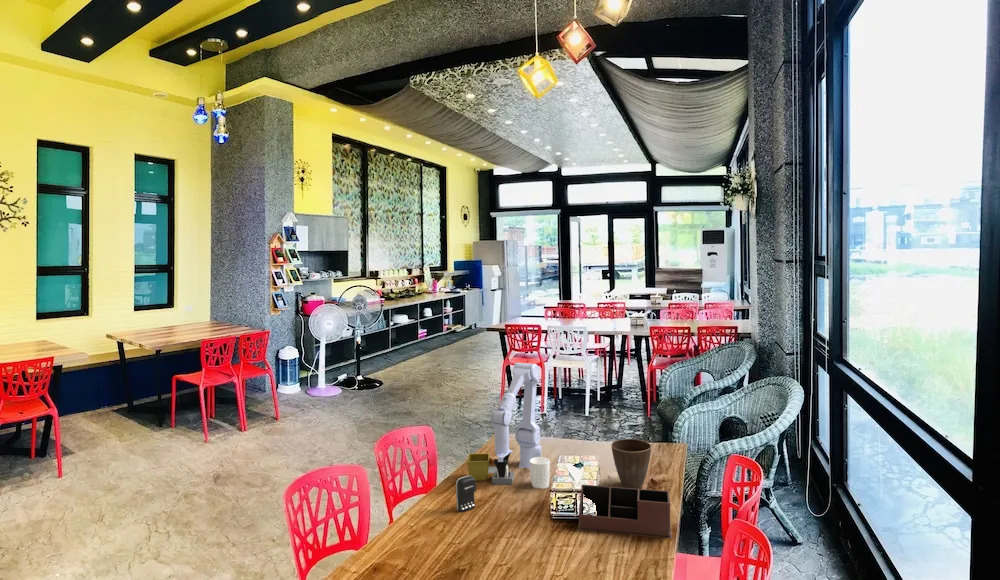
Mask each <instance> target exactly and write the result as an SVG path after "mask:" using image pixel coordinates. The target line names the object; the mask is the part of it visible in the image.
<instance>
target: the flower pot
mask: <svg viewBox="0 0 1000 580" xmlns="http://www.w3.org/2000/svg"><path fill="white" fill-rule="evenodd" d="M490 456H491V455H490V453H486V452H485V453H468V455H467V460H466V464H467V469H468V470H467V471H468V475H469V476H472V477H473V478H474V479H475V481H476V482H477V481H486V479H487V477H488V475H489V473H488V469H489V466H490V458H491V457H490Z"/></svg>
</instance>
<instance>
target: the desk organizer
mask: <svg viewBox="0 0 1000 580" xmlns="http://www.w3.org/2000/svg"><path fill="white" fill-rule="evenodd" d="M583 494H584V495H585V496H584V497H586V498H588V499H590V500H592V502H593V503H595V505H596V511H597V516H592V515H583ZM579 498H580V499H579V508H578V526H577V530H579V531H588V532H599V533H610V534H621V535H632V536H641V537H653V538H664V539H673V535H672V533H673V532H672V524H671V500H670V491H669V490H658V489H649V488H648V489H646V488H640V489H634V488H624V487H620V486H619V487H617V486H605V485H592V484H581V488H580V497H579Z"/></svg>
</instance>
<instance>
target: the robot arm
mask: <svg viewBox="0 0 1000 580" xmlns="http://www.w3.org/2000/svg"><path fill="white" fill-rule="evenodd" d="M512 376H513V377H512V380H511V382H510V385H509V388H508V391H507V393H505V394H503V396H502V398H501V399H500V403H499V404H498V406H497V408H496V409H495V410H493V411H492V412H491V416H490V417H491V418H490V421H491V423H492V428H493V429H494V455H495V456H496V457H497V458H494V459H493V463H494V465H495V466H496V467H497V471H498V475H499V477H500V478H504V477H505V472H506V465H508V464H509V457H510V455H511V454H513V450H512V449H510V430H509V426H510V423H512V422H511V421H512V417H513V410H514V408H515V406H516V403H517V397H516V396H517V394H518V393H519V390H520V389H521V387H523V386H522V385H524V388H523V389H524V390H523V391H524V392H523V403H522V404H523V406H522V419H521V420H522V421H521V422H520V423H519V424H517V426H516V431H515V434H514V437H515V438H514V439H515V441H516V442H517V445H518V446H519V464H518V469H519V468H522V469H524V468H527V469H530V459H532V458H535V457H543V455H542V453H543V451H542V449H543V448H542V444H540V442H541V428H540V426H539V425H538V424H537V423H536V421H535V417H536V401H537V385H538V383H539V381H540V368H539V366H538V364H536V363H526V362H525V363H523V362H518V361H517V362H515V363H514V365H513V368H512ZM508 466H509V465H508Z"/></svg>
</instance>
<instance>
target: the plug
mask: <svg viewBox="0 0 1000 580" xmlns="http://www.w3.org/2000/svg"><path fill="white" fill-rule="evenodd" d="M508 467H509V465H506V472H505V477H504V478H508V471H509V470H508ZM497 478H500V477H499V475H498V471H497Z"/></svg>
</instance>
